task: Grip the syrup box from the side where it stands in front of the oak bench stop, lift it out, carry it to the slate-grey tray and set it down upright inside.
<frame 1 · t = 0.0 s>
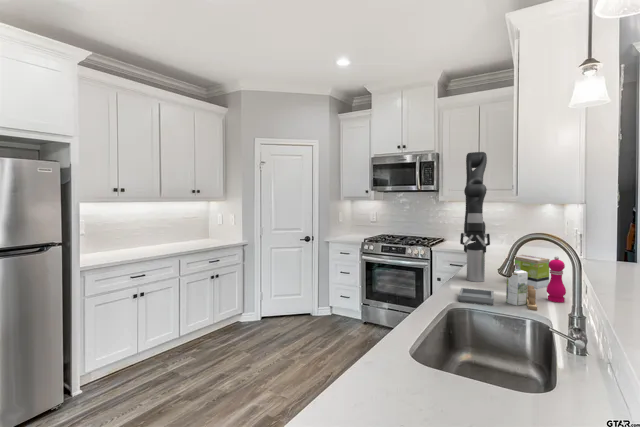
hand: (474, 253, 184), 17 cm above the worktop, tool pointing down, fingers open, 8 cm apart
tray: (476, 299, 160), on the worktop
syrup box: (516, 304, 153), on the worktop
bench stop: (531, 305, 150), on the worktop
pepper mill: (555, 301, 156), on the worktop
tea box: (529, 285, 185), on the worktop
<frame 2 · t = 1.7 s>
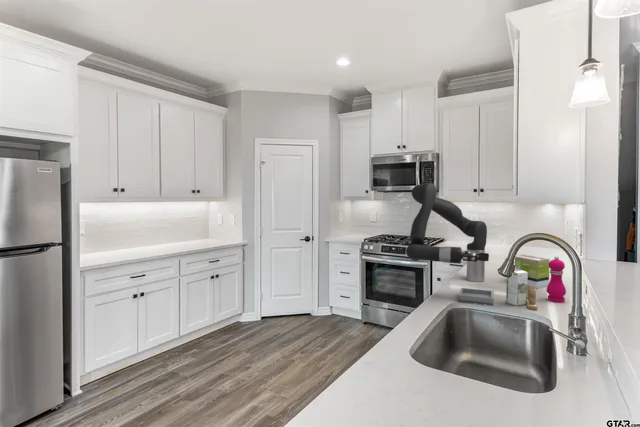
hand: (488, 257, 157), 20 cm above the worktop, tool horizontal, fingers open, 8 cm apart
nothing on the worktop moved.
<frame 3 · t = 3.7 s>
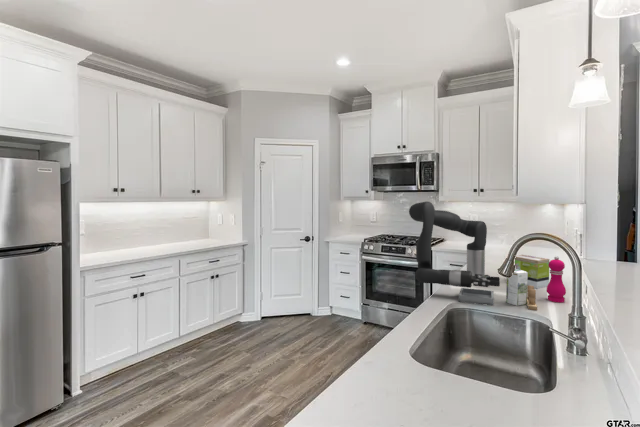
hand: (499, 281, 155), 9 cm above the worktop, tool horizontal, fingers open, 8 cm apart
nothing on the worktop moved.
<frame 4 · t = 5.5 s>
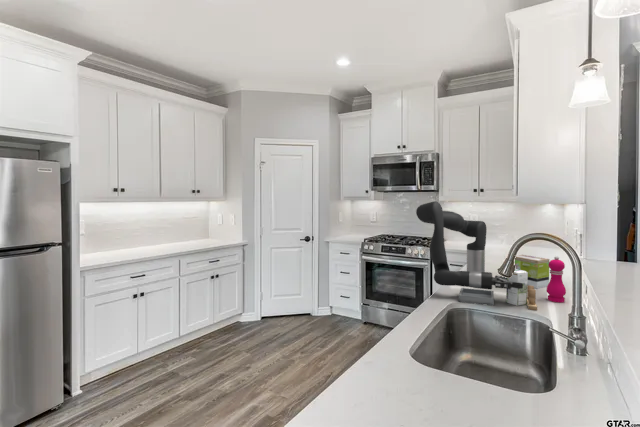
hand: (522, 283, 152), 9 cm above the worktop, tool horizontal, fingers closed on syrup box, 8 cm apart
syrup box: (516, 304, 153), on the worktop, touching gripper
everything else where it was.
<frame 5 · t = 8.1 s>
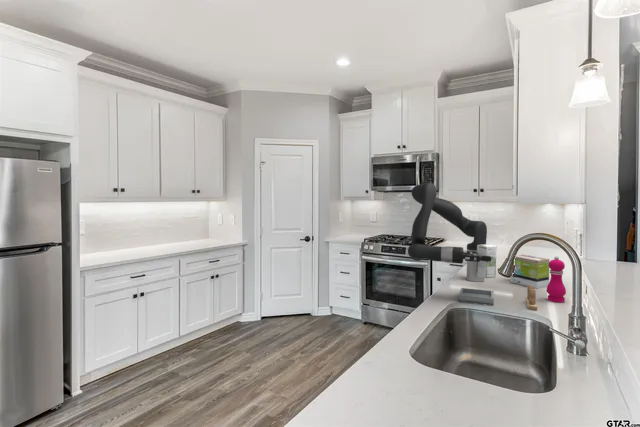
hand: (491, 257, 156), 20 cm above the worktop, tool horizontal, fingers closed on syrup box, 8 cm apart
syrup box: (485, 277, 158), point 10 cm above the worktop, touching gripper
everything else where it was.
when the fingers open (11 cm above the worktop, at t = 10.7 s): syrup box drops 1 cm, resting on tray.
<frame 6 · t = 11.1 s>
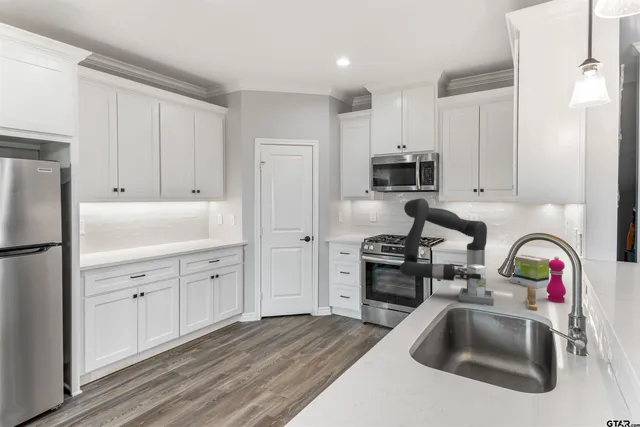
hand: (481, 274, 158), 12 cm above the worktop, tool horizontal, fingers open, 8 cm apart
syrup box: (476, 297, 160), point 1 cm above the worktop, touching tray
everything else where it was.
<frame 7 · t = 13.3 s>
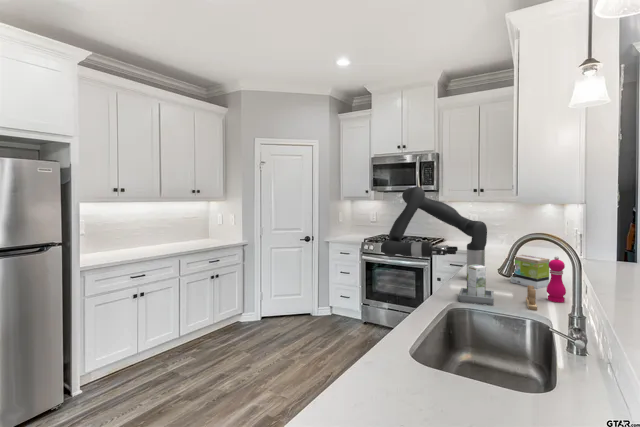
hand: (456, 250, 167), 21 cm above the worktop, tool horizontal, fingers open, 8 cm apart
nothing on the worktop moved.
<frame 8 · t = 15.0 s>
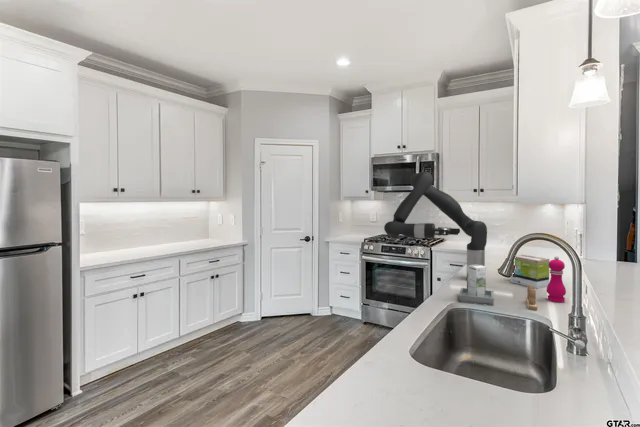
hand: (459, 231, 169), 30 cm above the worktop, tool horizontal, fingers open, 8 cm apart
nothing on the worktop moved.
at the end: syrup box inside the target area on the tray (0.1 cm from its centre), point 0.8 cm above the tray's base; syrup box tilted 0°; the gripper is holding nothing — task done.
